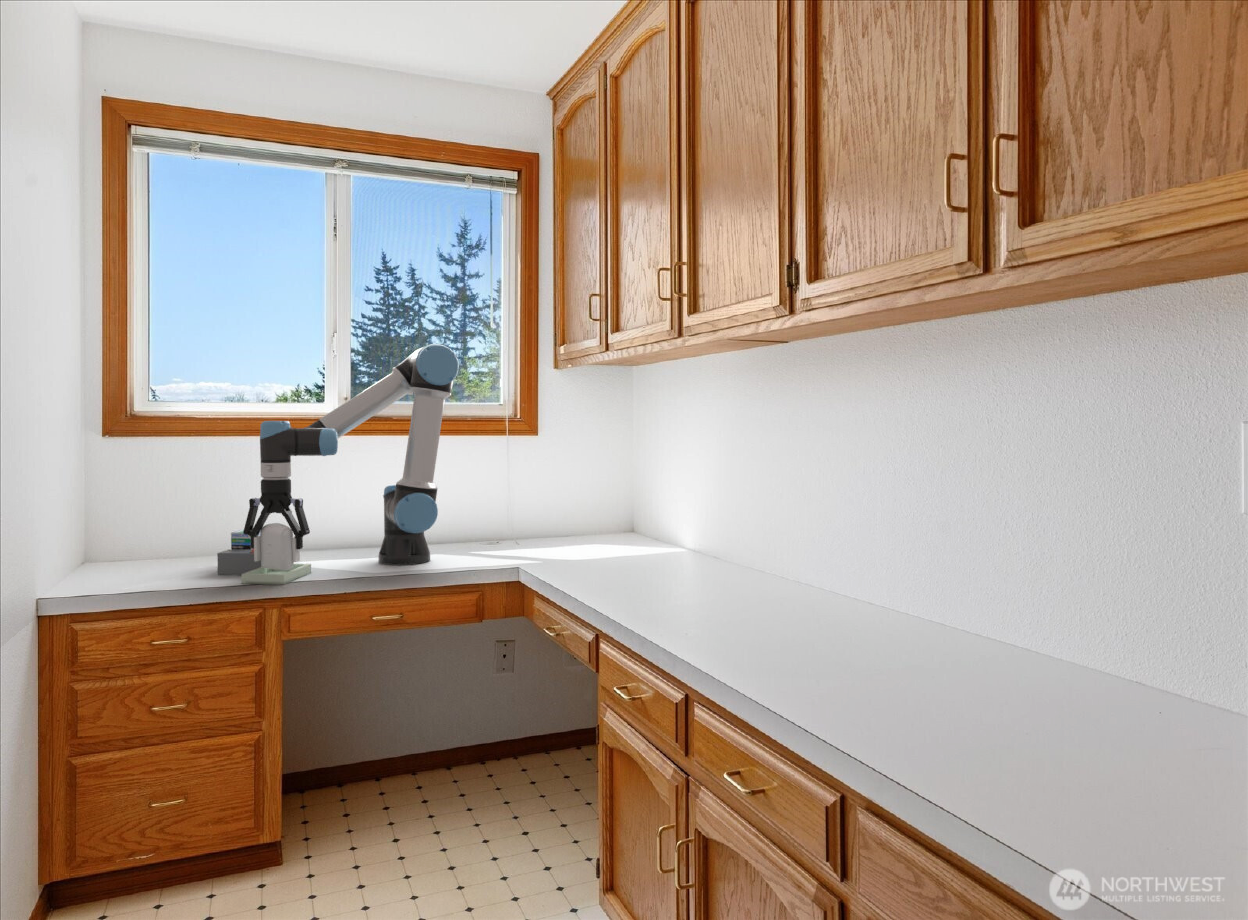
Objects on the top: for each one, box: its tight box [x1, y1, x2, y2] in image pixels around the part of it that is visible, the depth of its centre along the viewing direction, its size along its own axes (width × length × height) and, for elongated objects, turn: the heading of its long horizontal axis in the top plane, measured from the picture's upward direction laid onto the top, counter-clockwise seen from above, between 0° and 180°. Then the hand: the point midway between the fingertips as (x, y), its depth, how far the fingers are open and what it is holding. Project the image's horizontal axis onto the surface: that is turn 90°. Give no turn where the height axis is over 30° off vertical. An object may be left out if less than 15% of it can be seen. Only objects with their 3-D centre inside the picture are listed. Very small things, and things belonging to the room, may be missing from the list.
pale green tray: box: [240, 563, 312, 586], centre depth 226 cm, size 11×16×2 cm
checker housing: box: [216, 549, 270, 576], centre depth 233 cm, size 14×6×6 cm, turn 87°
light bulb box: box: [230, 528, 261, 550], centre depth 242 cm, size 11×7×11 cm, turn 179°
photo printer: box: [260, 522, 295, 571], centre depth 225 cm, size 10×4×12 cm, turn 57°
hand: (277, 560), depth 226 cm, fingers closed on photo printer, 10 cm apart
